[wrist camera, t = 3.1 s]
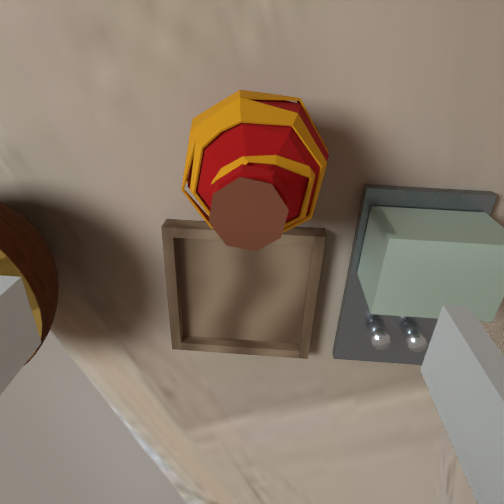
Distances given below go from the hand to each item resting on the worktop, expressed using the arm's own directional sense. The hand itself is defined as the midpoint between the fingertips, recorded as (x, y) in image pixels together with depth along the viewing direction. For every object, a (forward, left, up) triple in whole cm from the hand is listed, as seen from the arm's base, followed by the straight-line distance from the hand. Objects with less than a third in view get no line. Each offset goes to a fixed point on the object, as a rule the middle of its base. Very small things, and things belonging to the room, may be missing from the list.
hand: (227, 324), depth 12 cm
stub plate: (+15, -13, -23) cm, 30 cm away
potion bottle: (0, 0, -23) cm, 23 cm away
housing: (+15, -8, -22) cm, 28 cm away
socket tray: (-1, -15, -23) cm, 27 cm away
